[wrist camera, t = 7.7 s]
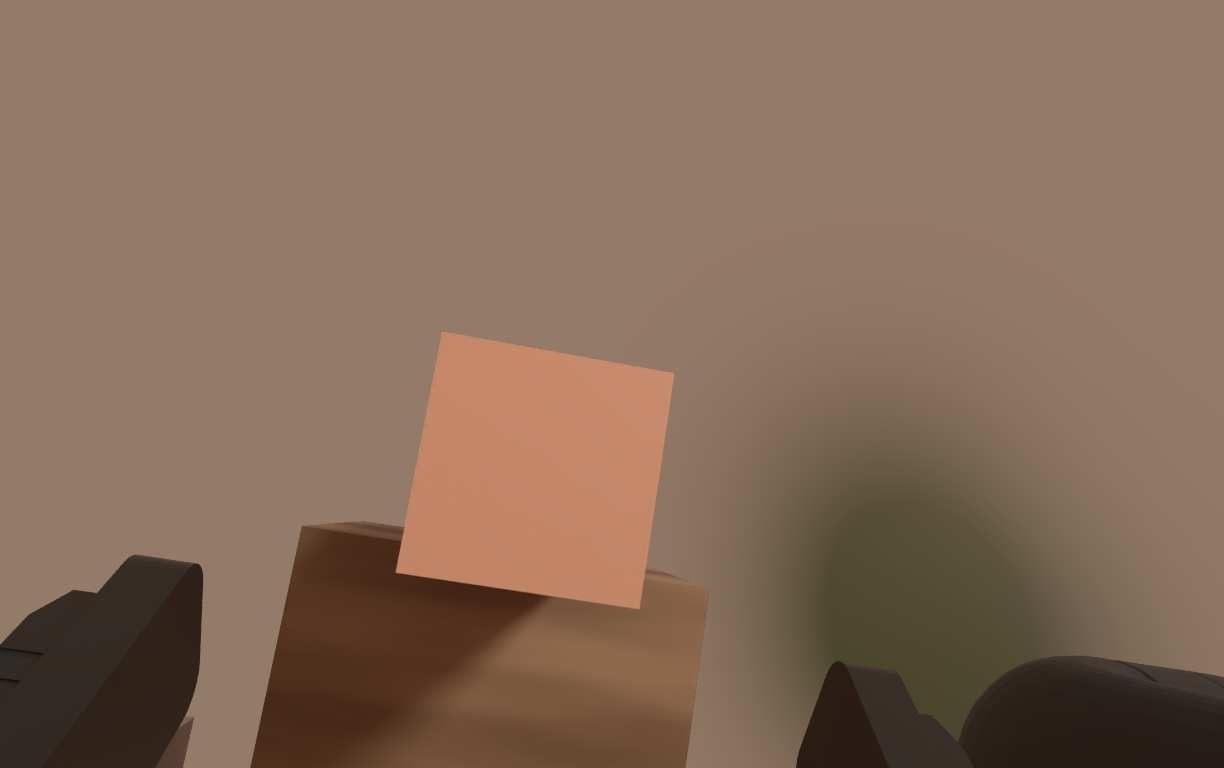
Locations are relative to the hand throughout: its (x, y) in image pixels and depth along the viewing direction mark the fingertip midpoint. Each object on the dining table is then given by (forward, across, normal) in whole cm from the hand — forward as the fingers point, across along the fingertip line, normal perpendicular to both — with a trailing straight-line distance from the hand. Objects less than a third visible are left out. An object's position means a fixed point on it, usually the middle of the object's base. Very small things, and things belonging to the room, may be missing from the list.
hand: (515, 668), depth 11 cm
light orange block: (+11, 0, +5) cm, 12 cm away
